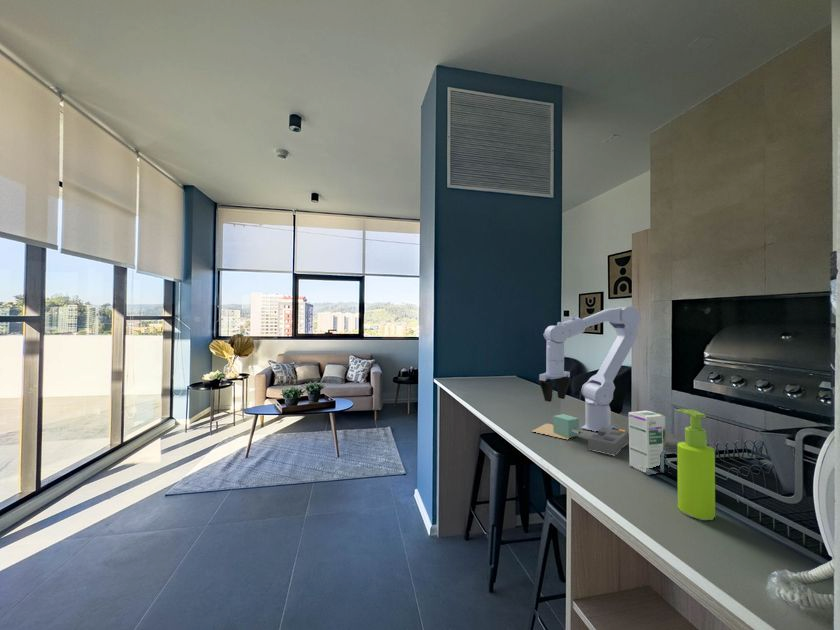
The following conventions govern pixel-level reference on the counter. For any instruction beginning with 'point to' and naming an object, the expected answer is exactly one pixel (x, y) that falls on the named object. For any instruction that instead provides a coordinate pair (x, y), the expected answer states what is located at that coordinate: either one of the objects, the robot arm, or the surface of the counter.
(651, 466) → the syrup box
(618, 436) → the power strip
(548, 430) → the cork mat
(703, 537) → the counter surface
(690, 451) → the soap dispenser
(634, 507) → the counter surface
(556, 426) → the charger
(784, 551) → the counter surface
